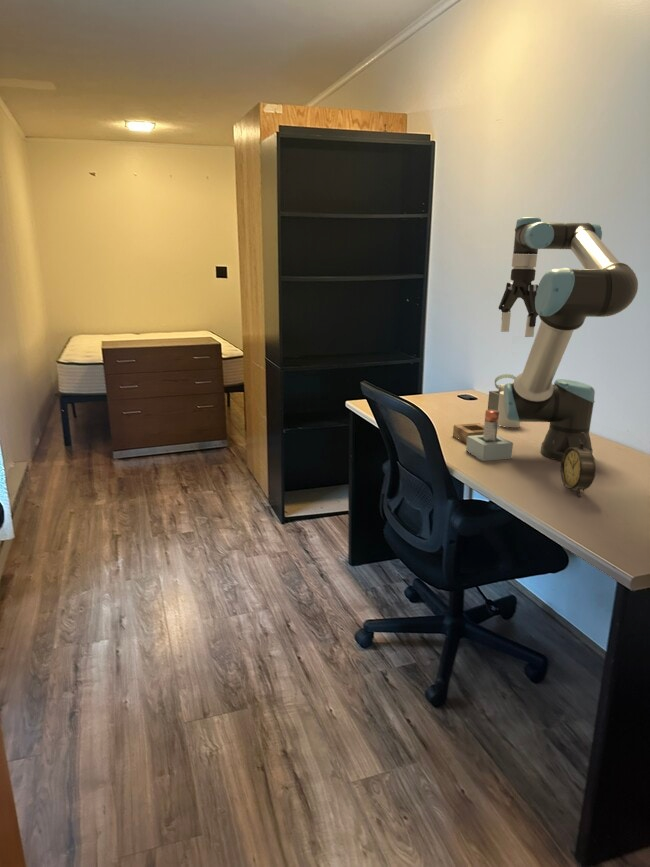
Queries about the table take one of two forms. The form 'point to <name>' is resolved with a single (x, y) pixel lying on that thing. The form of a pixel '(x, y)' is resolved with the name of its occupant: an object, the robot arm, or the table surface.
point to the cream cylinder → (502, 417)
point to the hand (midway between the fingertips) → (516, 334)
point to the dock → (489, 448)
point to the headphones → (503, 384)
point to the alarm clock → (578, 467)
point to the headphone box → (493, 400)
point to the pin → (490, 426)
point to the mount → (467, 430)
